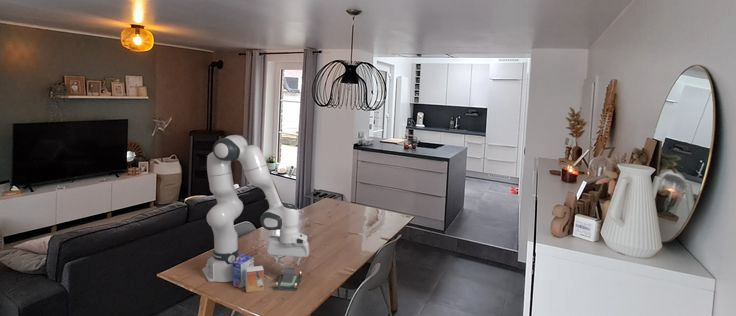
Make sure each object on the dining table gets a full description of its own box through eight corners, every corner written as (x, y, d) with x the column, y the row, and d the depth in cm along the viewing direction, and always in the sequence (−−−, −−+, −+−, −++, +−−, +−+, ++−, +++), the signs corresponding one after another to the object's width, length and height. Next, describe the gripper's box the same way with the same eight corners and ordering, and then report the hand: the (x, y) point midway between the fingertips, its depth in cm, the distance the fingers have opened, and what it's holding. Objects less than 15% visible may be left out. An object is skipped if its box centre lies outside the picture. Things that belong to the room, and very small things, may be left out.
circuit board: (280, 285, 200) (280, 274, 199) (284, 276, 210) (284, 265, 209) (292, 286, 200) (292, 275, 199) (296, 277, 210) (296, 266, 209)
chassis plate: (274, 289, 198) (274, 283, 197) (281, 276, 212) (281, 269, 212) (296, 291, 198) (296, 284, 197) (302, 277, 212) (302, 270, 212)
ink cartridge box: (245, 277, 209) (245, 250, 206) (254, 280, 207) (254, 252, 204) (232, 286, 200) (231, 257, 197) (241, 288, 198) (241, 259, 195)
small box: (246, 293, 194) (246, 271, 192) (245, 287, 199) (245, 267, 197) (264, 290, 197) (264, 269, 195) (262, 285, 202) (262, 265, 200)
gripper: (265, 237, 198) (264, 265, 200) (308, 240, 198) (307, 268, 200) (269, 233, 204) (268, 259, 207) (310, 236, 204) (309, 262, 207)
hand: (287, 263), depth 203 cm, fingers open, 8 cm apart
